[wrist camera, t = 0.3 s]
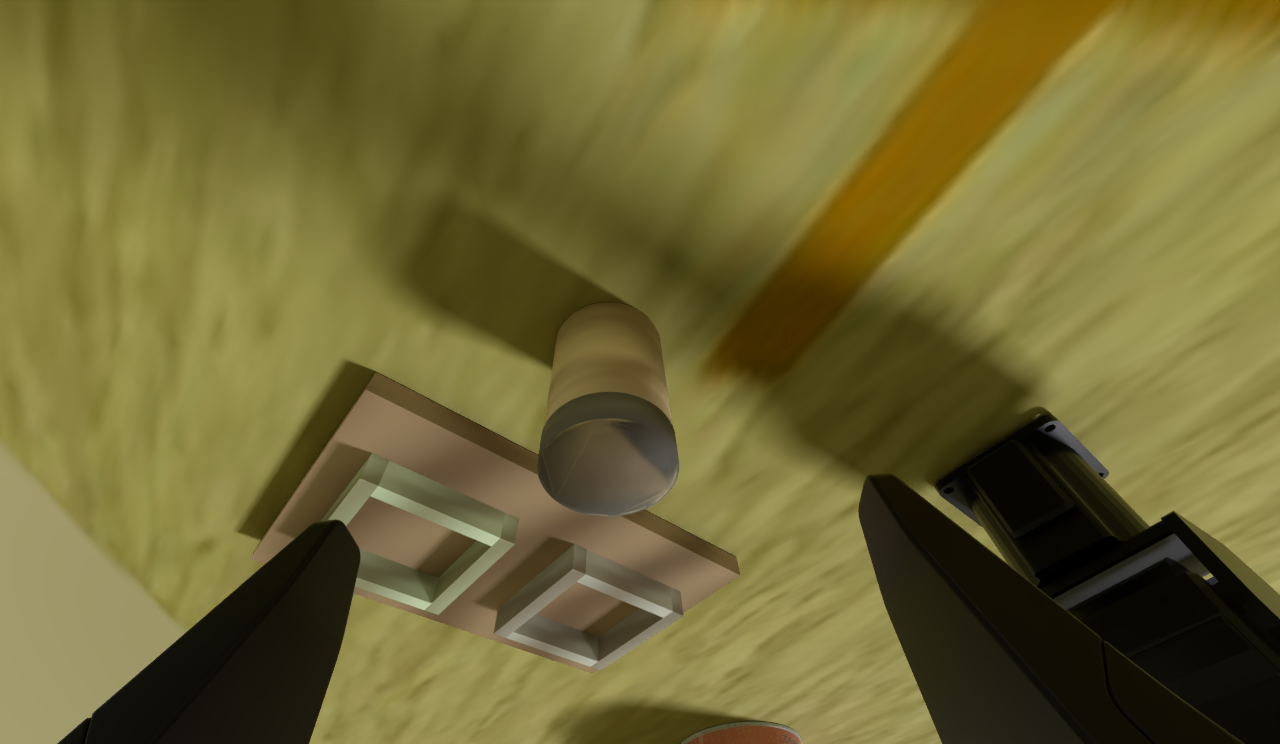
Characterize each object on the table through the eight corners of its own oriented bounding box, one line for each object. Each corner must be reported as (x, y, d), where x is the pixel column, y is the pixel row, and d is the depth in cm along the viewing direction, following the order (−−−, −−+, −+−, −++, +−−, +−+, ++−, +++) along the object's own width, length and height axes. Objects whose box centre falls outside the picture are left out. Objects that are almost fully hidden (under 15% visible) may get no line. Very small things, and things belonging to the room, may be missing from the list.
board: (736, 557, 32) (745, 599, 30) (592, 655, 38) (591, 696, 36) (375, 372, 23) (352, 413, 21) (261, 539, 29) (234, 584, 27)
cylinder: (683, 340, 23) (708, 460, 17) (616, 405, 25) (619, 533, 19) (598, 280, 21) (595, 392, 16) (533, 355, 23) (509, 480, 17)
